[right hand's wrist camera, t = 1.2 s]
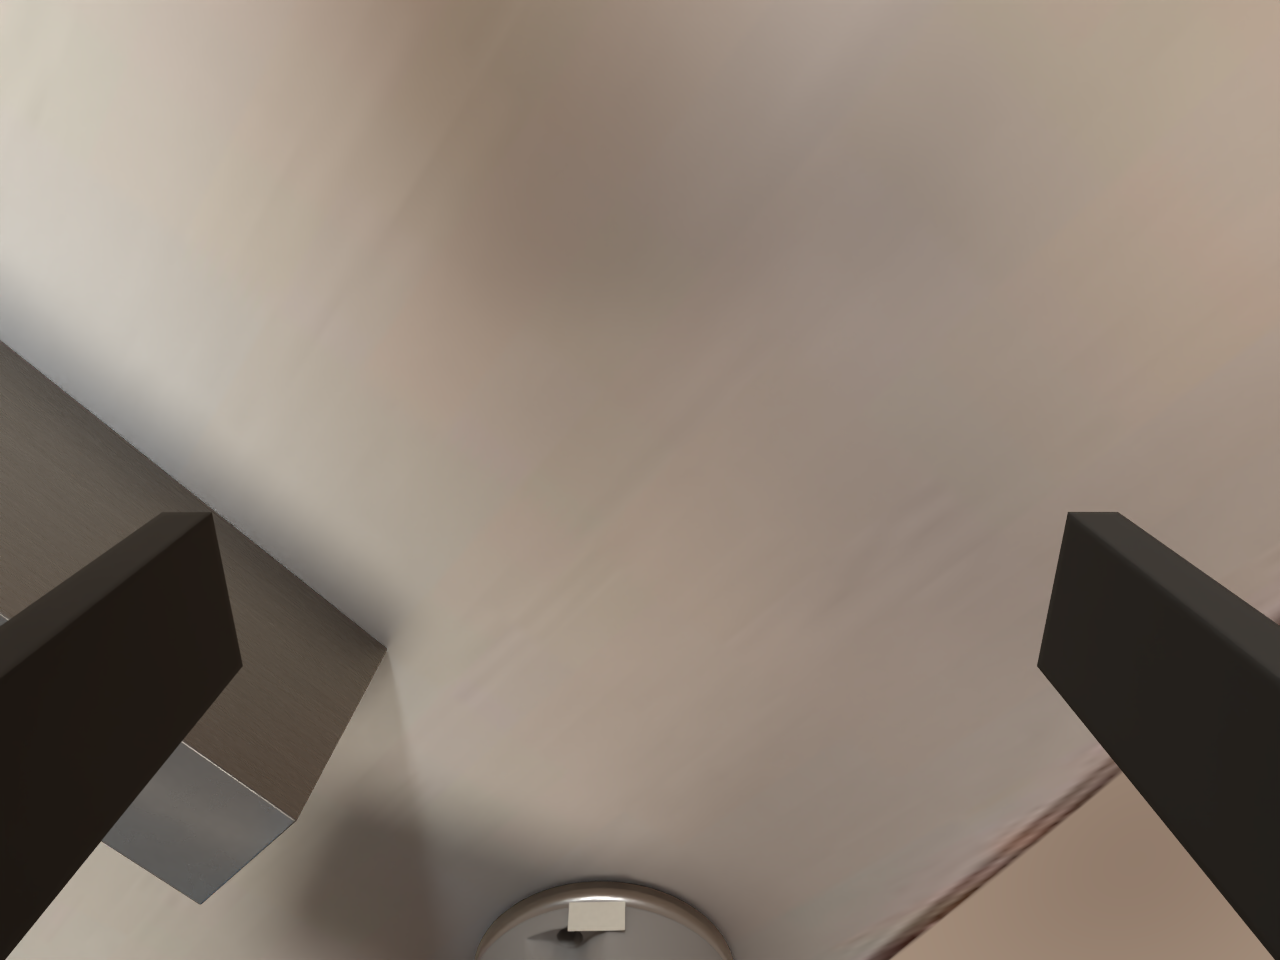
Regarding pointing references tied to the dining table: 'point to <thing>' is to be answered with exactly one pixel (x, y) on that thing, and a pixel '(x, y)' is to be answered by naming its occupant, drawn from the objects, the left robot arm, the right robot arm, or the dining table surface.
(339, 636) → the box
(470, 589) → the dining table surface
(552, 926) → the right robot arm
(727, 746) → the dining table surface
